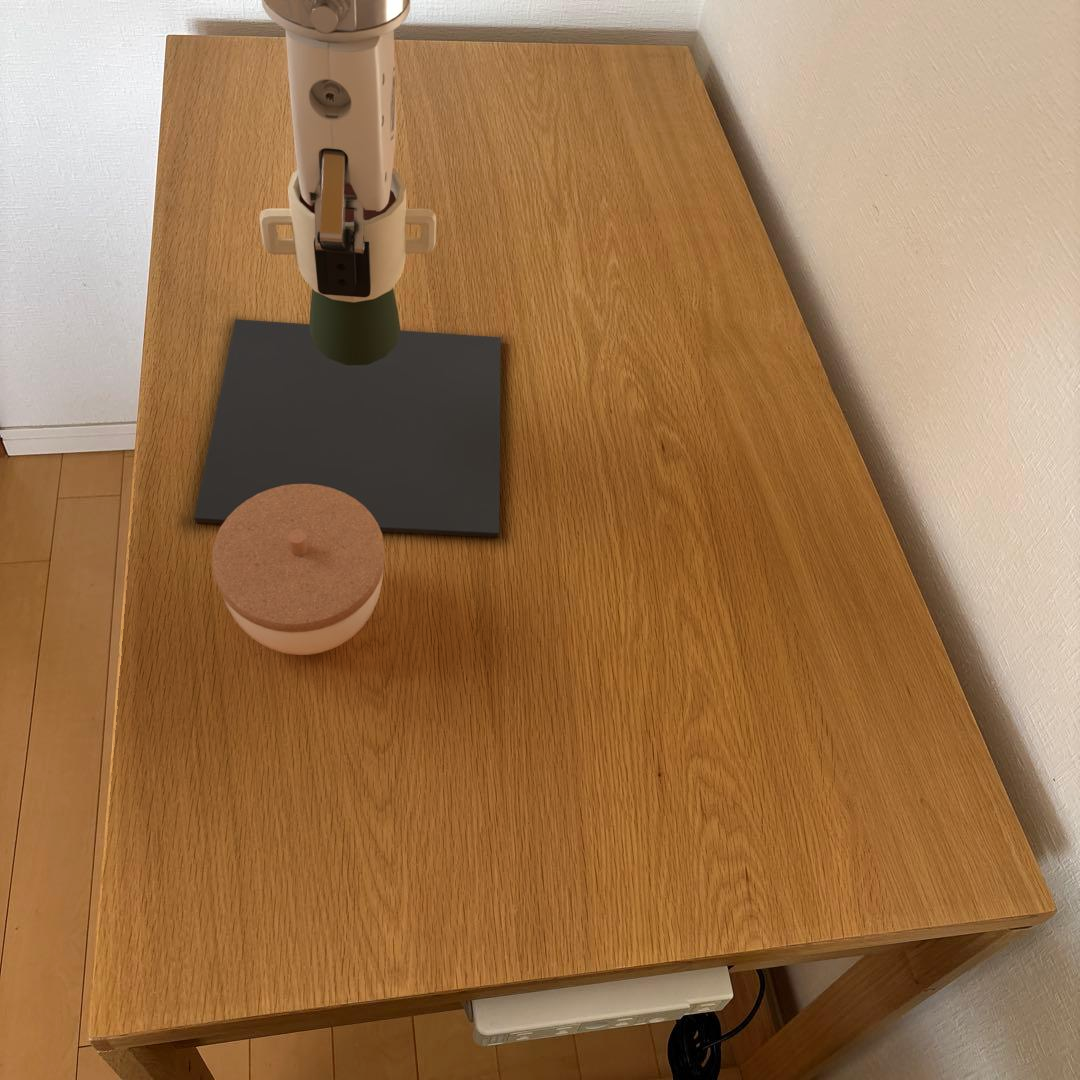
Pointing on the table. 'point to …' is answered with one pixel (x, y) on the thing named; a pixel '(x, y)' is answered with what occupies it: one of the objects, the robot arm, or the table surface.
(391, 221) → the character mug
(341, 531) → the trinket box
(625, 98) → the table surface
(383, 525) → the mat
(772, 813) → the table surface
